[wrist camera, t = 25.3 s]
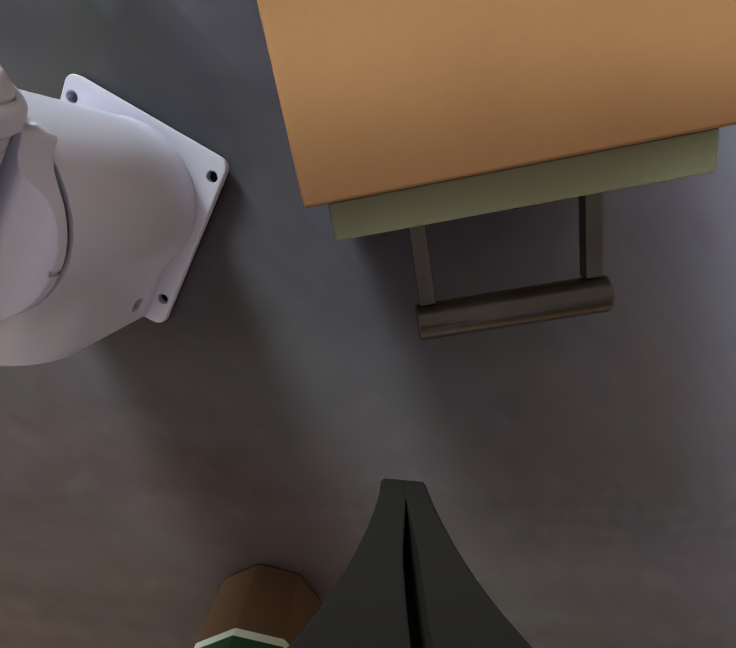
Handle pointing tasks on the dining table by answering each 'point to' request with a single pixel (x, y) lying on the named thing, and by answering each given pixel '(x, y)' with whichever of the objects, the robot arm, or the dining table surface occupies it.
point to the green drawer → (514, 191)
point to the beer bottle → (259, 610)
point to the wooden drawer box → (488, 83)
